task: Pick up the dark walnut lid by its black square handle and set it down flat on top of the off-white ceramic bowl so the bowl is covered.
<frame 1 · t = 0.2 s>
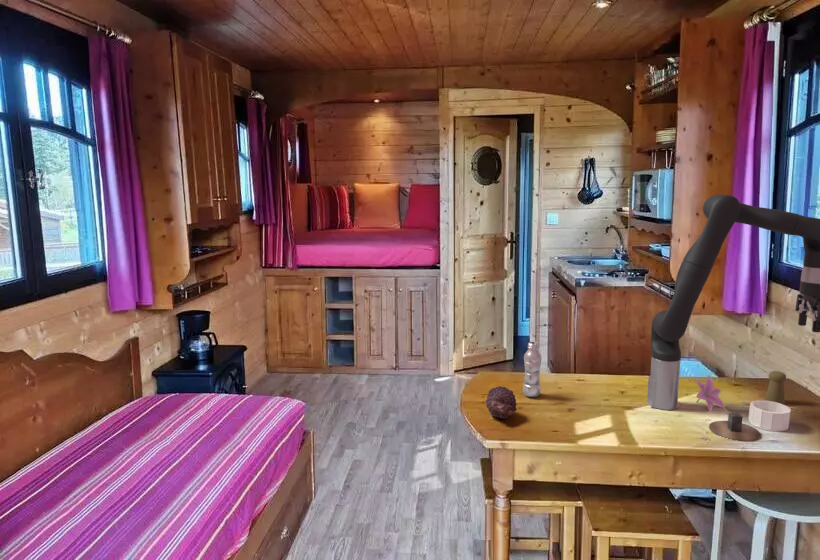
hand: (808, 328, 197), 29 cm above the table, tool pointing down, fingers open, 8 cm apart
plastic bottle: (531, 396, 218), on the table
cork: (774, 402, 211), on the table
pine cone: (500, 416, 200), on the table
lily: (707, 406, 207), on the table
walnut lid: (734, 432, 187), on the table
ceramic bowl: (768, 424, 192), on the table
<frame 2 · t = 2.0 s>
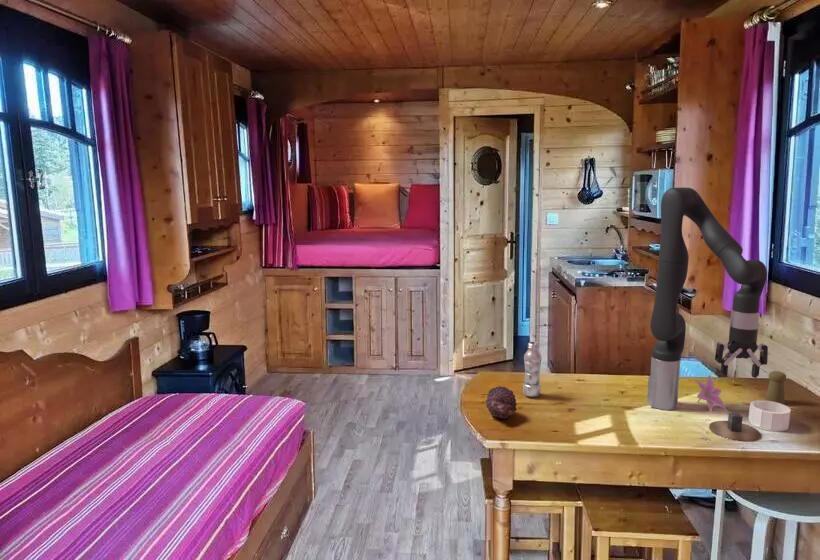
hand: (739, 376, 184), 18 cm above the table, tool pointing down, fingers open, 8 cm apart
nothing on the table moved.
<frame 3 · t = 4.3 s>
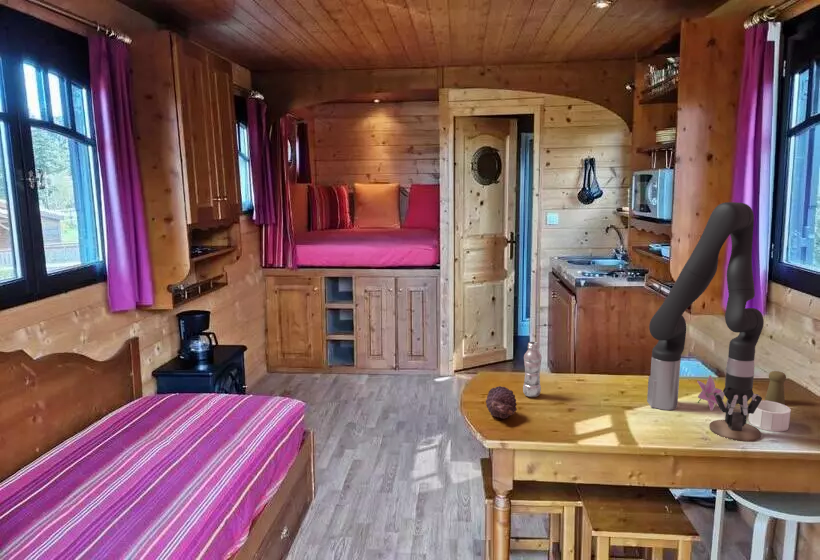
hand: (735, 424, 186), 2 cm above the table, tool pointing down, fingers closed on walnut lid, 3 cm apart
walnut lid: (734, 431, 187), on the table, touching gripper
everything else where it was.
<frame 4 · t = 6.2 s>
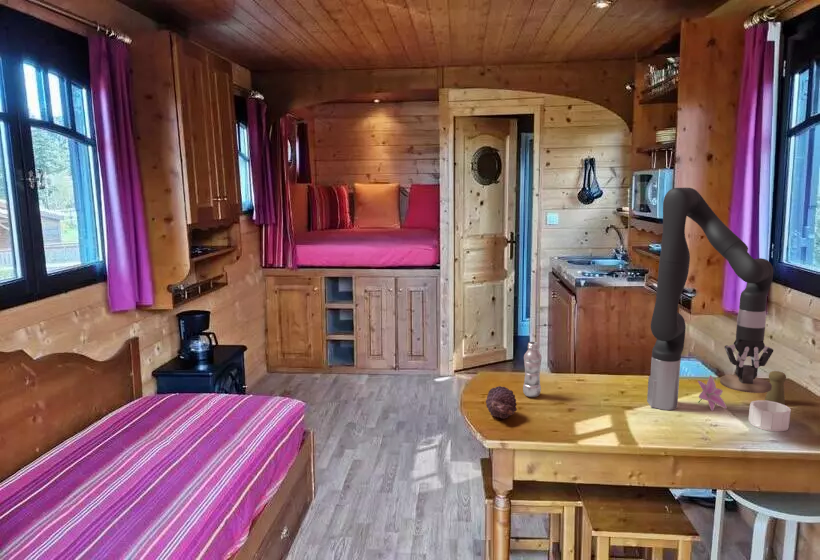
hand: (746, 377, 185), 17 cm above the table, tool pointing down, fingers closed on walnut lid, 3 cm apart
walnut lid: (745, 384, 185), point 15 cm above the table, touching gripper
everything else where it was.
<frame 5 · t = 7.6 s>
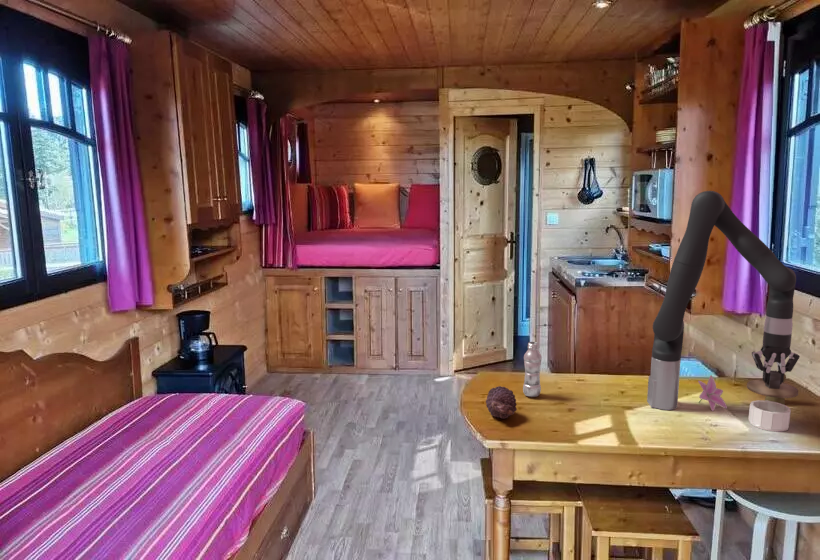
hand: (772, 383, 189), 14 cm above the table, tool pointing down, fingers closed on walnut lid, 3 cm apart
walnut lid: (771, 390, 190), point 12 cm above the table, touching gripper
everything else where it was.
when the fingers open (10 cm above the table, at t = 8.6 s): walnut lid drops 1 cm, resting on ceramic bowl.
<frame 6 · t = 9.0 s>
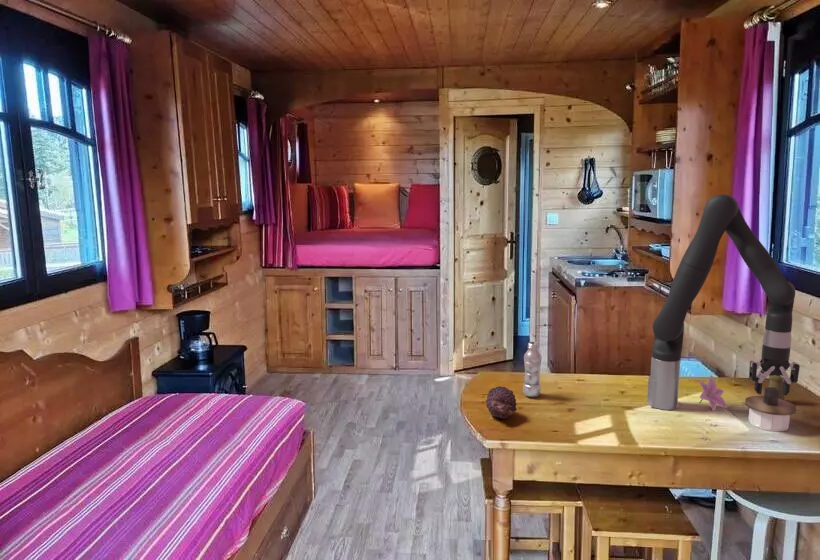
hand: (771, 393, 190), 10 cm above the table, tool pointing down, fingers open, 7 cm apart
walnut lid: (770, 406, 191), point 6 cm above the table, touching ceramic bowl
everything else where it was.
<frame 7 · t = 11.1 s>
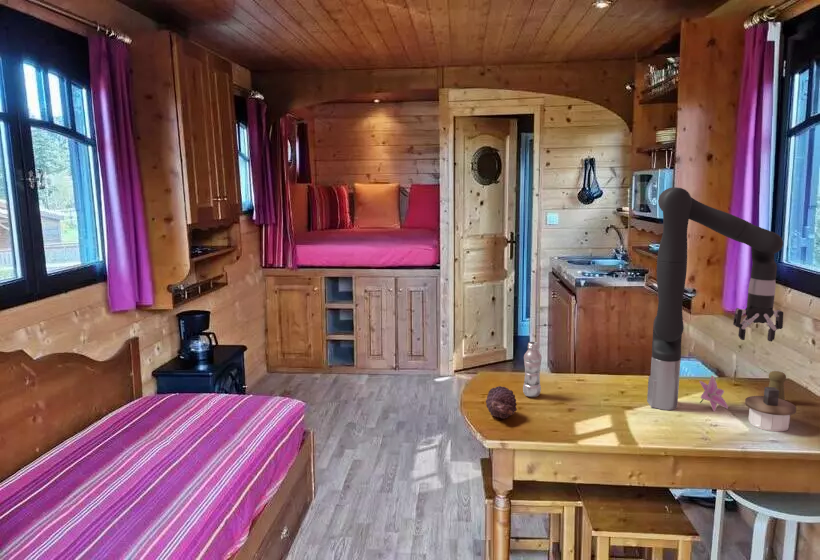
hand: (756, 340, 198), 25 cm above the table, tool pointing down, fingers open, 8 cm apart
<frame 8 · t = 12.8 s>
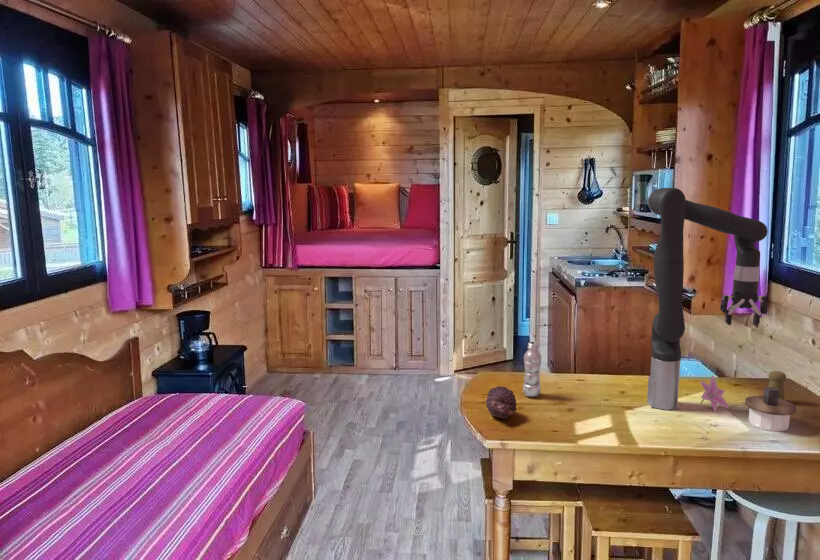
hand: (742, 324, 206), 28 cm above the table, tool pointing down, fingers open, 8 cm apart
at the end: walnut lid 0.0 cm off-centre on the ceramic bowl, point 6.0 cm above the ceramic bowl's base; walnut lid tilted 0°; the gripper is holding nothing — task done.
